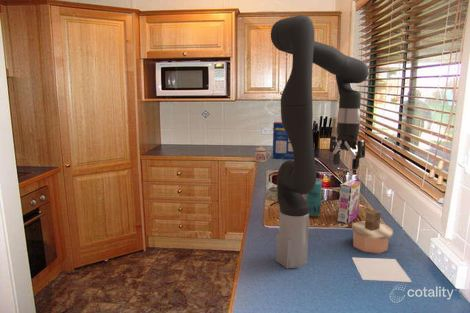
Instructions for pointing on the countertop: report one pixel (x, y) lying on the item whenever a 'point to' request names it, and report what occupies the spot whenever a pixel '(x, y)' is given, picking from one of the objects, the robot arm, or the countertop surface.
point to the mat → (380, 269)
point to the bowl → (370, 244)
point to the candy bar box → (348, 201)
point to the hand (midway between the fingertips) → (345, 166)
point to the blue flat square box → (281, 143)
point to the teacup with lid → (261, 154)
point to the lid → (372, 226)
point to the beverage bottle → (315, 198)
